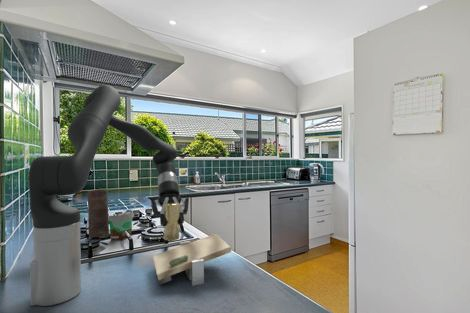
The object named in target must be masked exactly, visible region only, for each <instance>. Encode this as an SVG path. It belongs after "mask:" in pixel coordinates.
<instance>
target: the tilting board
mask: <svg viewBox="0 0 470 313" xmlns="http://www.w3.org/2000/svg"><path fill="white" fill-rule="evenodd" d="M231 248H232V246H230V245H229V244H228V243H227V242H226V241H225V240H223V239H222V238H221V237H220V236H219V235H218V234H217V233H213V234H211V235H209V236H206V237H202V238H200V239H197V240H194V241H192V242H191V241H190V243H188V244H185V245H182V246H180V245H179V246H176V247H175V248H172V249H169V250H166V251H163V252H159V253H158V254H154V255H153V256H152V260H153V263H154V267H155V272H156V276H157V281H158V284H159V286H161V285H163V284H165V283H167V282H170V281H172V276H173V275H176V274H178V273H182V272H183V271H185V270H186V269H189V268H191V261H194V260H200V259H203V260H204V263H207V262H210V261H211V260H214V259H217V258H220V257H222V256H225V255H226V254H229V253H232V249H231Z"/></svg>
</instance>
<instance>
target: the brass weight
mask: <svg viewBox="0 0 470 313" xmlns="http://www.w3.org/2000/svg"><path fill="white" fill-rule="evenodd" d="M180 206H181V202H180V203H165V207H164V215H165V227H163V229H164V230H163V240H164V241H177V240H179V239H180V226H181V225H180Z"/></svg>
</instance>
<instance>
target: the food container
mask: <svg viewBox="0 0 470 313" xmlns="http://www.w3.org/2000/svg"><path fill="white" fill-rule="evenodd" d="M134 217H135V214H134V212H133V210H131V209H126V211H125V212H123V213H117V214H116V215H108V221H109V237H110V241H122V240H127V239H128V238H127V236H126V233H125V231H127V232H128V233H129V234H130V235H131V236H132V230H133V218H134Z"/></svg>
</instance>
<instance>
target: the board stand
mask: <svg viewBox="0 0 470 313" xmlns="http://www.w3.org/2000/svg"><path fill="white" fill-rule="evenodd" d="M188 243H191V241H190V240H187V241H180V243H179V247H180V246H182V245H185V244H188ZM204 263H205V262H204V260H203V259H200V260H194V261H191V268H189V269H186V270H184V271H185V274H186V276H187V278H188V280H189V281H191V286H192V287H195V286H198V285H204V284H205V274H204V273H205V270H204V269H205V267H204V266H205V264H204Z"/></svg>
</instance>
